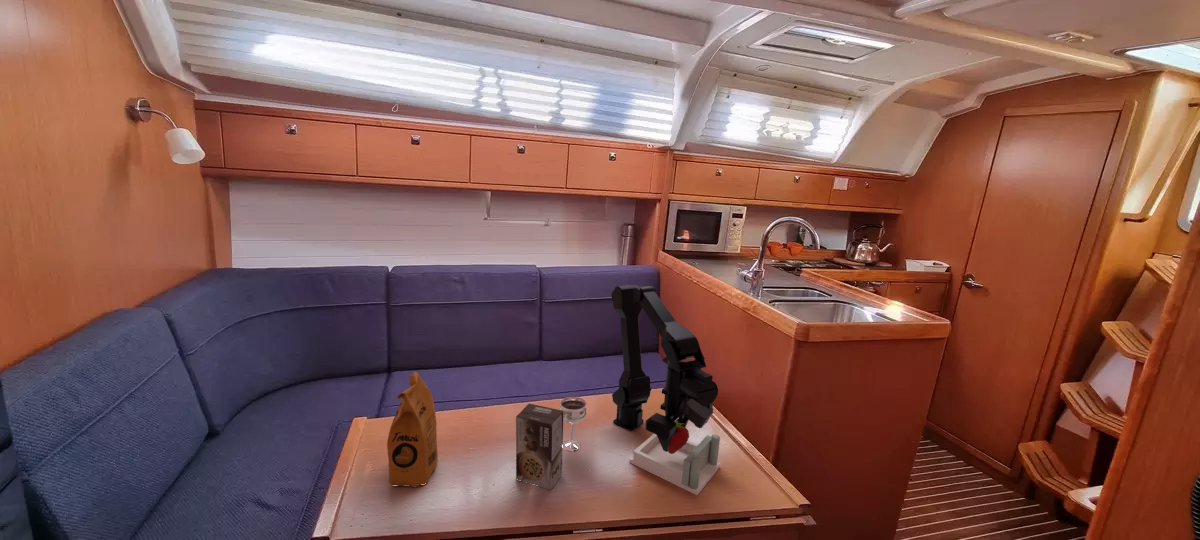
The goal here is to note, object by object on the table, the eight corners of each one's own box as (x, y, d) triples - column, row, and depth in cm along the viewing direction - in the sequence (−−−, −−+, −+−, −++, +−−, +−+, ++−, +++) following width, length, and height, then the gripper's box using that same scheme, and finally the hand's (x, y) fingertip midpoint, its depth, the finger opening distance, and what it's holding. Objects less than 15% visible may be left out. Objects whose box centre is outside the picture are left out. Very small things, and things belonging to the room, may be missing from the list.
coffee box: (562, 473, 105) (565, 410, 101) (551, 491, 99) (553, 424, 95) (527, 463, 108) (529, 402, 104) (514, 480, 102) (515, 415, 98)
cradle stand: (629, 462, 110) (631, 432, 108) (655, 438, 120) (657, 411, 119) (697, 495, 100) (700, 463, 98) (719, 466, 110) (723, 437, 108)
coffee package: (381, 490, 96) (375, 396, 92) (401, 454, 109) (396, 370, 104) (428, 489, 97) (425, 396, 93) (443, 454, 109) (441, 370, 105)
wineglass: (553, 449, 114) (555, 406, 111) (565, 435, 120) (567, 394, 117) (578, 456, 111) (580, 412, 109) (589, 442, 117) (591, 400, 115)
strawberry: (689, 461, 107) (693, 424, 105) (658, 460, 107) (661, 423, 105) (684, 447, 113) (688, 411, 111) (654, 446, 113) (657, 409, 111)
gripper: (692, 413, 94) (685, 478, 98) (725, 382, 109) (718, 440, 112) (646, 395, 101) (641, 457, 104) (683, 369, 115) (678, 424, 119)
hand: (672, 444), depth 110 cm, fingers closed on strawberry, 6 cm apart
